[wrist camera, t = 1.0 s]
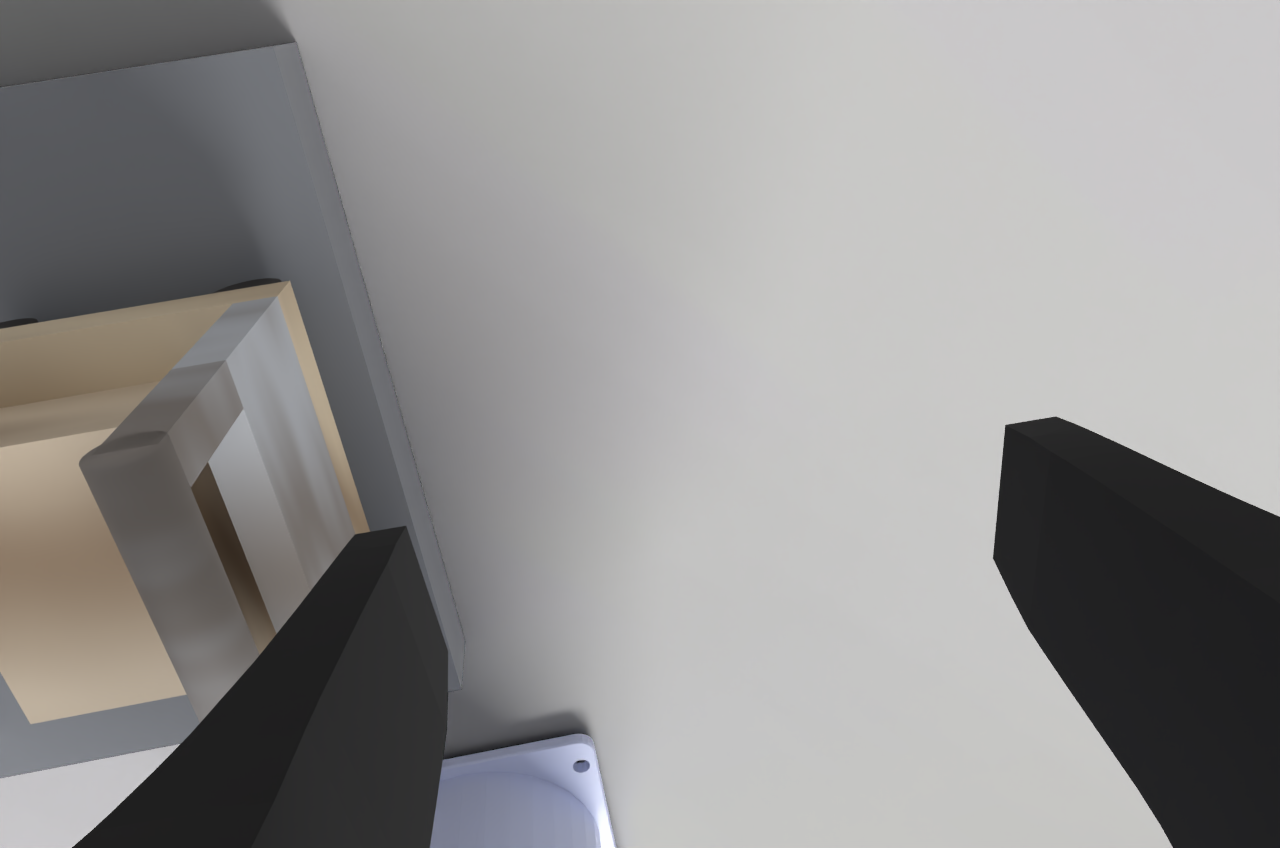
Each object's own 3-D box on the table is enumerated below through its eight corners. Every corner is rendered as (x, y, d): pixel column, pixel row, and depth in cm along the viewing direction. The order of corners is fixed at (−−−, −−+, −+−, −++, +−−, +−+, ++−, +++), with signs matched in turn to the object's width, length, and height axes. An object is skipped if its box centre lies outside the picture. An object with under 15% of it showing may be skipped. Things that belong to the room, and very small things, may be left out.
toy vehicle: (407, 579, 22) (345, 912, 14) (111, 634, 21) (-128, 1008, 14) (310, 260, 18) (151, 461, 10) (-46, 319, 18) (-494, 575, 10)
